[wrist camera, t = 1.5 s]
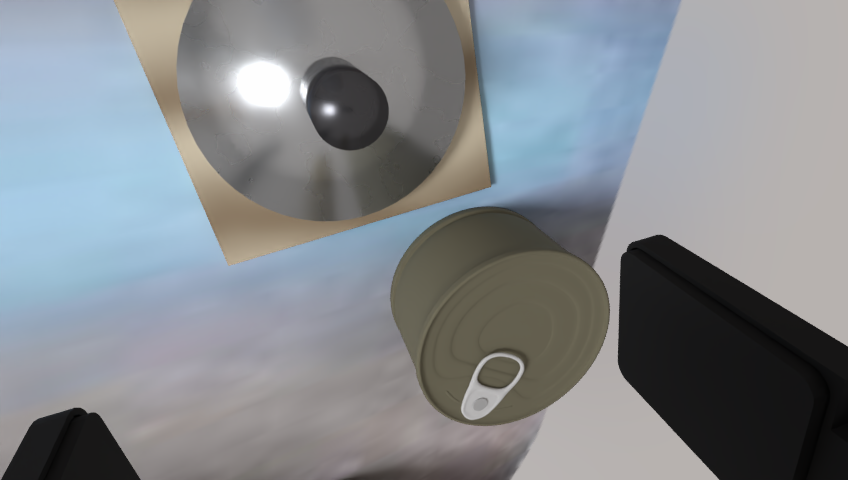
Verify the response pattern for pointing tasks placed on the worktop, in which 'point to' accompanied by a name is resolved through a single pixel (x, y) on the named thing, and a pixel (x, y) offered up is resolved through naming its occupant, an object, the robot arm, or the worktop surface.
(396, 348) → the worktop surface
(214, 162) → the lid
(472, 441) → the worktop surface
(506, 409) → the can
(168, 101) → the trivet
